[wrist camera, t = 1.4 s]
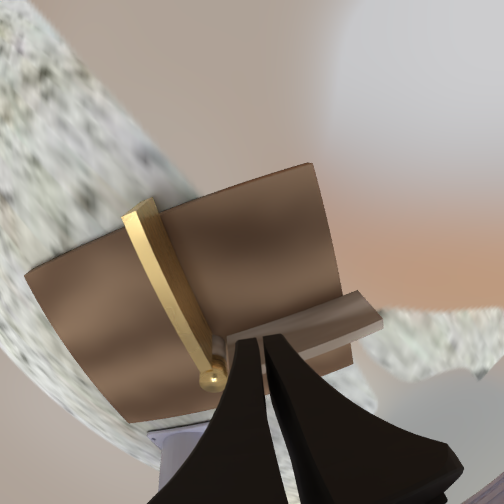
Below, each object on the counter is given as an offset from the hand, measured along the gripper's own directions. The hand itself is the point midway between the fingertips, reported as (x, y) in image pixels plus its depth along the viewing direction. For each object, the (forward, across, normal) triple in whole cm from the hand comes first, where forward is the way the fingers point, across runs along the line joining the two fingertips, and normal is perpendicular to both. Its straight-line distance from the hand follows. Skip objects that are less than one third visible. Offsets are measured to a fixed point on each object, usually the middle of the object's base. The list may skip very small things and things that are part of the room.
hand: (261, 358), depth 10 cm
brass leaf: (+9, +4, +1) cm, 10 cm away
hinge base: (+10, +3, +5) cm, 12 cm away
